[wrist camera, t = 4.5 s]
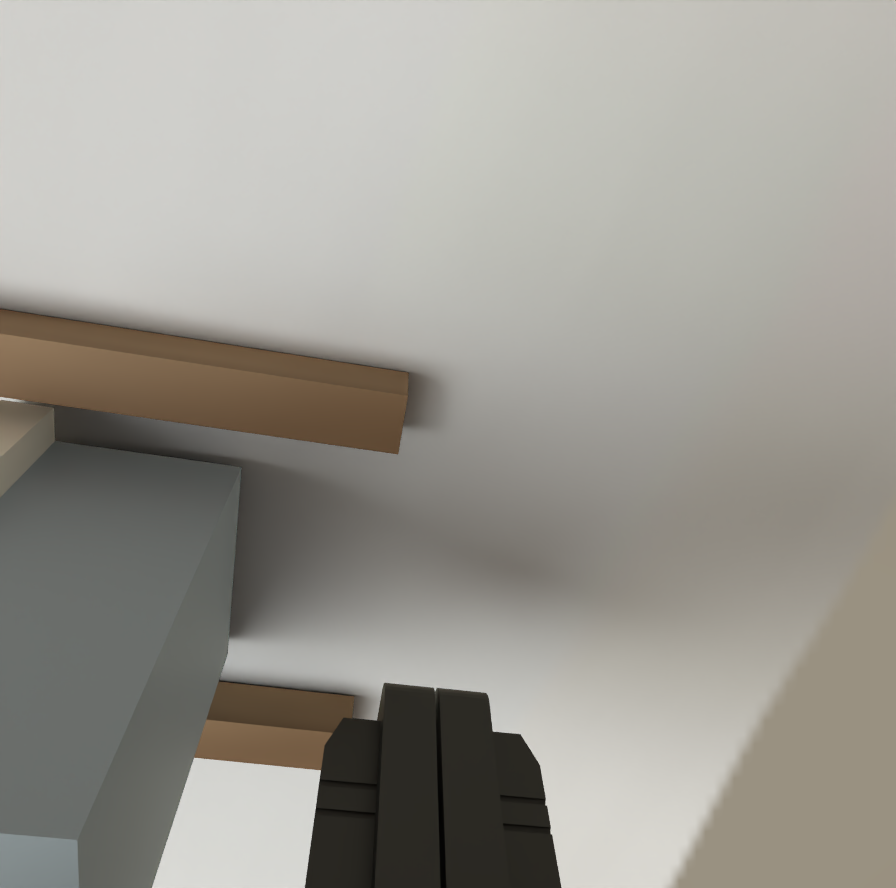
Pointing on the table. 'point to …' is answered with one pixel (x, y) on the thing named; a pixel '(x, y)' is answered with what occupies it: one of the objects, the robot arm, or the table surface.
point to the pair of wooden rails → (226, 407)
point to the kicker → (103, 648)
